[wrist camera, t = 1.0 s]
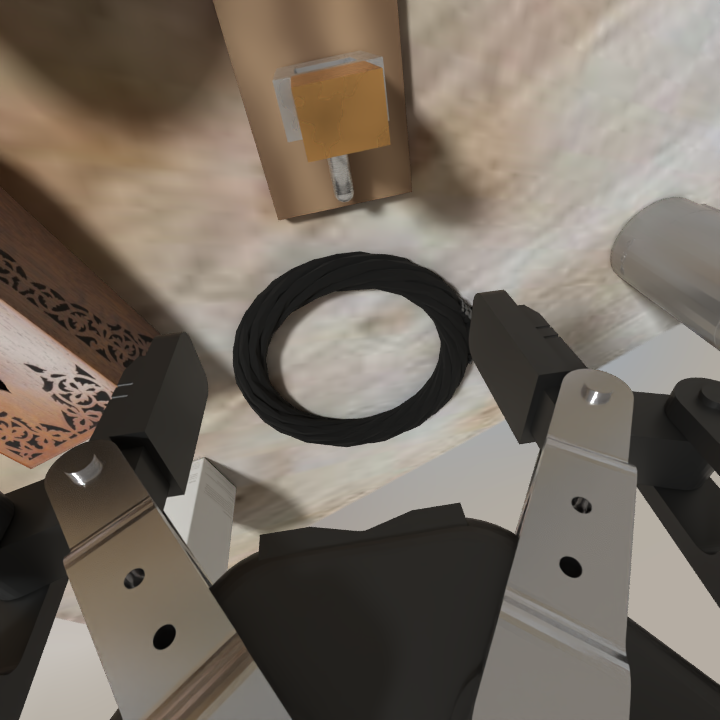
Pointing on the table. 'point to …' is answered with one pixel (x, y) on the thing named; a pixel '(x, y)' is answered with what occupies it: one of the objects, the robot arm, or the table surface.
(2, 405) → the tissue box cover
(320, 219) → the table surface
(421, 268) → the cable lock
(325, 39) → the board
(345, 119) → the end link
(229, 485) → the supplement box
